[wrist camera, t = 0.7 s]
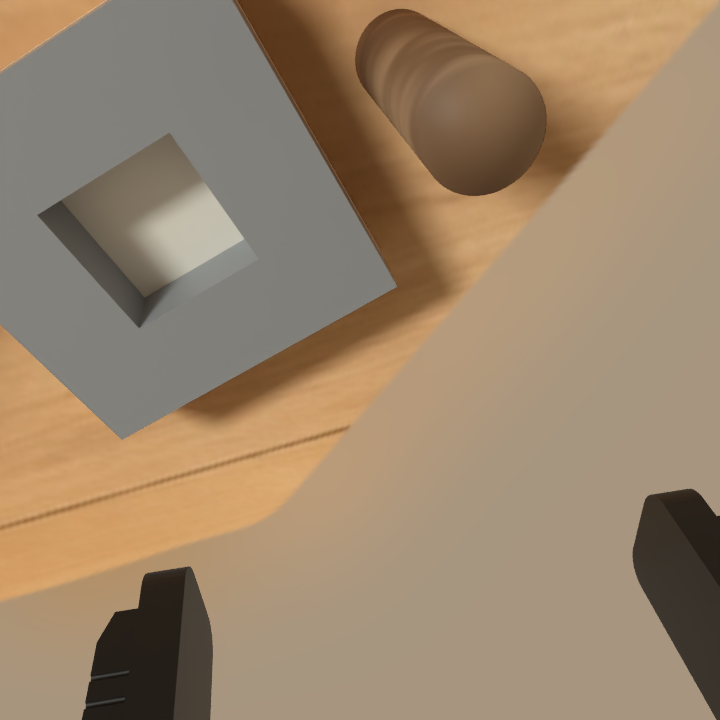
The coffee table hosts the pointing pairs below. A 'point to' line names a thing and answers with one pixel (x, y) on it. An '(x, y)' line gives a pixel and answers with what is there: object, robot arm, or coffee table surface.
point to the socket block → (167, 209)
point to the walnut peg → (452, 102)
